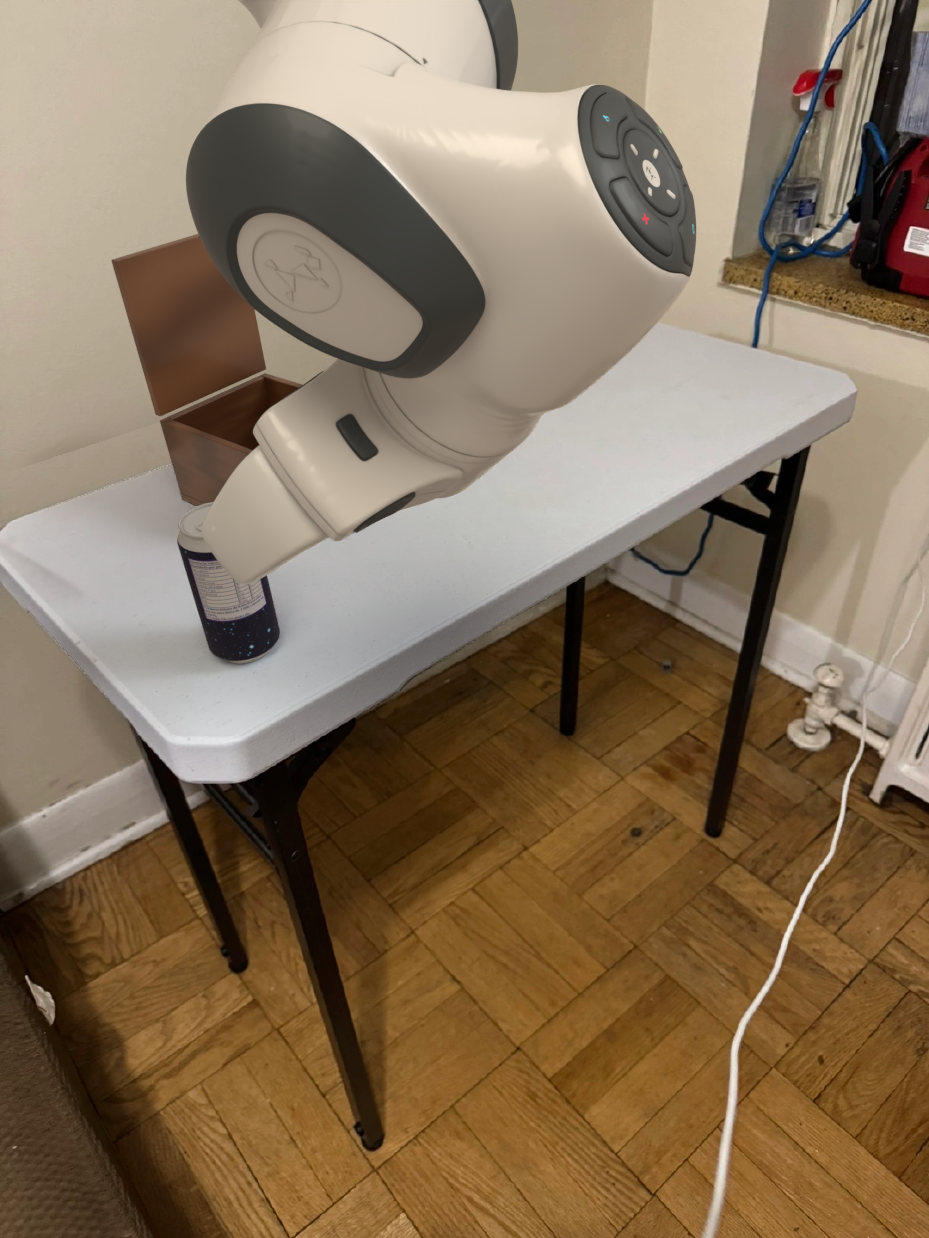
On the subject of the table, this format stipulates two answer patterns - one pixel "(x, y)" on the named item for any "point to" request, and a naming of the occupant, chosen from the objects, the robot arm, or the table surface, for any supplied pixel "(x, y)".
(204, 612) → the beverage can
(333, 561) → the table surface
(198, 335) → the lid
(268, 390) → the chest
